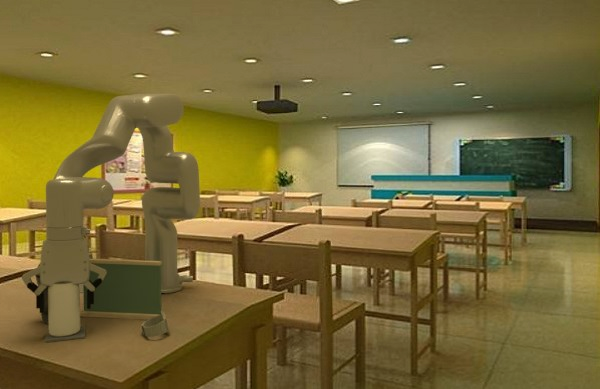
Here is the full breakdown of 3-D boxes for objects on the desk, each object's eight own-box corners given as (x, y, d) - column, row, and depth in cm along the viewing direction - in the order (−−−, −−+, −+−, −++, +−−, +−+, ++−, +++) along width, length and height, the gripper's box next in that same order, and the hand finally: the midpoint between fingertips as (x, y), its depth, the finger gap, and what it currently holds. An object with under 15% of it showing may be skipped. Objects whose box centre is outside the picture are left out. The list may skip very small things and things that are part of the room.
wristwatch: (170, 339, 112) (170, 317, 112) (141, 342, 110) (141, 319, 110) (168, 326, 121) (168, 306, 121) (140, 328, 119) (140, 308, 119)
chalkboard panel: (80, 316, 127) (80, 260, 126) (88, 311, 131) (88, 257, 130) (157, 320, 125) (157, 263, 124) (163, 315, 129) (163, 260, 128)
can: (69, 325, 118) (68, 275, 117) (86, 331, 115) (85, 279, 114) (42, 333, 113) (41, 281, 112) (59, 339, 109) (58, 285, 108)
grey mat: (85, 327, 119) (85, 325, 119) (85, 338, 112) (85, 336, 112) (48, 330, 116) (48, 329, 116) (44, 342, 109) (44, 340, 109)
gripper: (106, 230, 119) (106, 301, 120) (23, 233, 113) (24, 308, 114) (106, 235, 112) (107, 310, 113) (18, 238, 106) (20, 318, 107)
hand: (65, 309), depth 113 cm, fingers open, 9 cm apart
